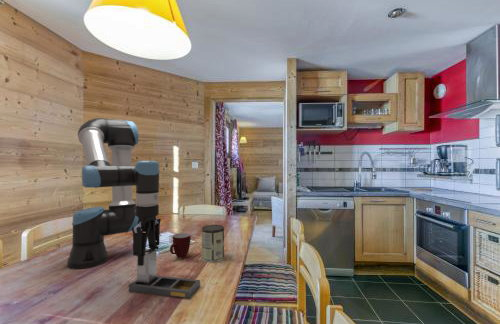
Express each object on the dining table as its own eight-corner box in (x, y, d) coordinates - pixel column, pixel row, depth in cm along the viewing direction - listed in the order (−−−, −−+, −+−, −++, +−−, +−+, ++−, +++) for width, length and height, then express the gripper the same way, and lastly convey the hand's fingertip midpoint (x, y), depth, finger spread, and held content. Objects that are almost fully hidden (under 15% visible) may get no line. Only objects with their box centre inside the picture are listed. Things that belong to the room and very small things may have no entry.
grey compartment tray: (128, 292, 85) (128, 285, 85) (144, 281, 93) (144, 274, 93) (189, 300, 80) (189, 292, 80) (200, 287, 89) (200, 280, 89)
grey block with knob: (137, 281, 87) (137, 252, 87) (145, 275, 91) (145, 248, 91) (148, 283, 86) (148, 253, 86) (156, 277, 90) (156, 249, 90)
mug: (179, 263, 110) (179, 240, 110) (164, 260, 113) (165, 238, 113) (194, 255, 119) (194, 234, 119) (180, 252, 123) (180, 232, 123)
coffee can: (209, 252, 123) (210, 223, 123) (228, 256, 118) (228, 226, 118) (196, 260, 113) (197, 228, 113) (216, 264, 109) (216, 231, 109)
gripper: (141, 210, 79) (140, 283, 79) (170, 201, 96) (169, 261, 96) (120, 208, 80) (119, 281, 81) (152, 200, 98) (151, 259, 98)
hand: (146, 270), depth 89 cm, fingers closed on grey block with knob, 4 cm apart
